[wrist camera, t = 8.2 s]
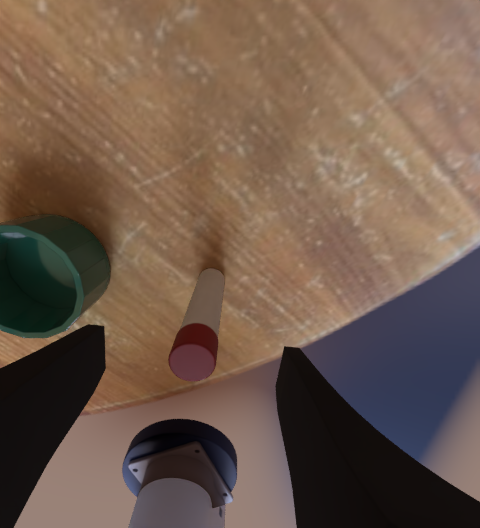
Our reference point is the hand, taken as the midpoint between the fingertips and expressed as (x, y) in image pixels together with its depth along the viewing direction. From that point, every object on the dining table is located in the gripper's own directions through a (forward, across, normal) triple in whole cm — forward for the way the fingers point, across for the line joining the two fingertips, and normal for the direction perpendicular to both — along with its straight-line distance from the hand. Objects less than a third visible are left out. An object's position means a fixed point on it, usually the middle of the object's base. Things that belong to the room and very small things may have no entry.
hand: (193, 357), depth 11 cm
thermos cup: (+8, +10, 0) cm, 13 cm away
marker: (+8, 0, 0) cm, 8 cm away
